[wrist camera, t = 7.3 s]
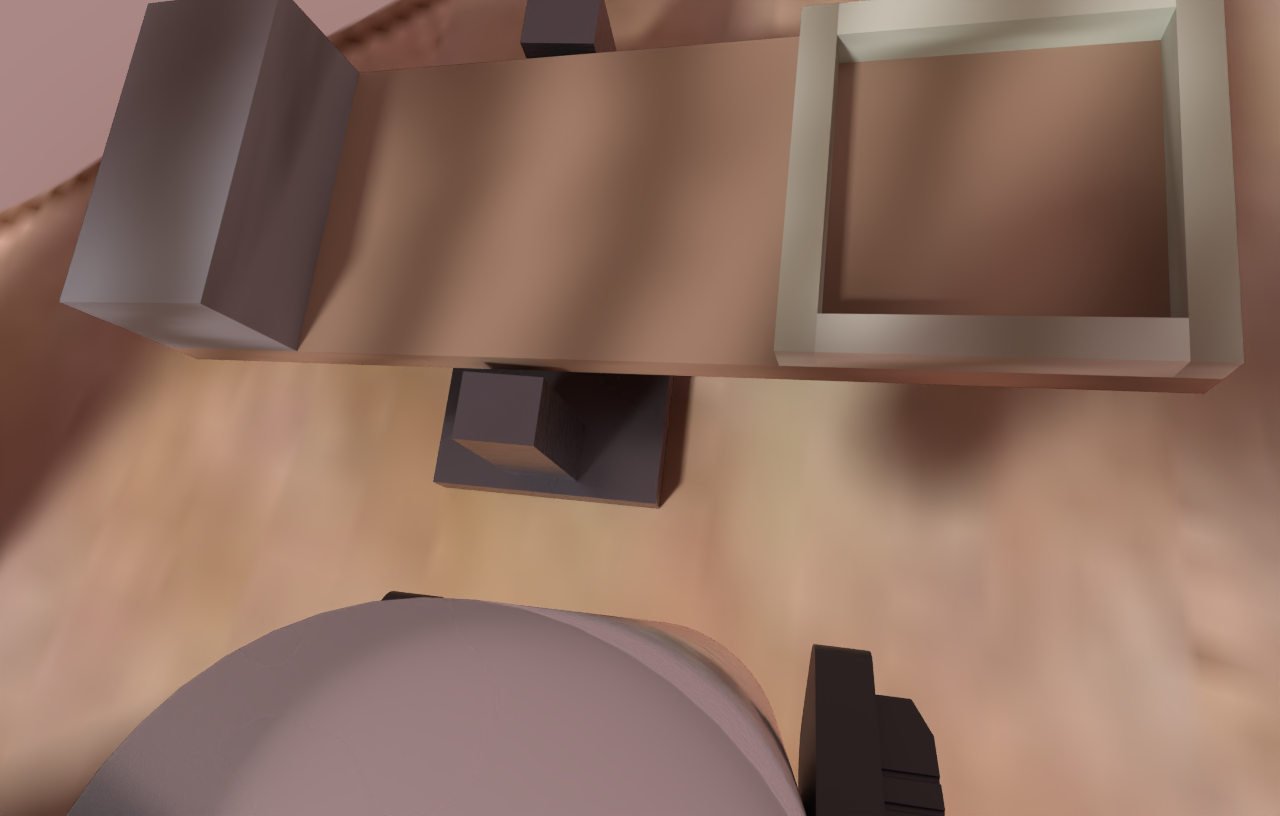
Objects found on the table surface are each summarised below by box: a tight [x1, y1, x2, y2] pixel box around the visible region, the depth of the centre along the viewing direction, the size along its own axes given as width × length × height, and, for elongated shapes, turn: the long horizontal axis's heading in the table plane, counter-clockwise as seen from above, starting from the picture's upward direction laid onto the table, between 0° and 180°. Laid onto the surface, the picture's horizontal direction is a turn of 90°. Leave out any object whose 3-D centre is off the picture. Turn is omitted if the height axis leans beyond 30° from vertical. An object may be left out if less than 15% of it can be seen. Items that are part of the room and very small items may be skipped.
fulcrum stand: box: [433, 0, 674, 509], centre depth 29 cm, size 8×16×7 cm, turn 173°
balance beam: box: [59, 0, 1244, 394], centre depth 23 cm, size 30×10×5 cm, turn 83°
